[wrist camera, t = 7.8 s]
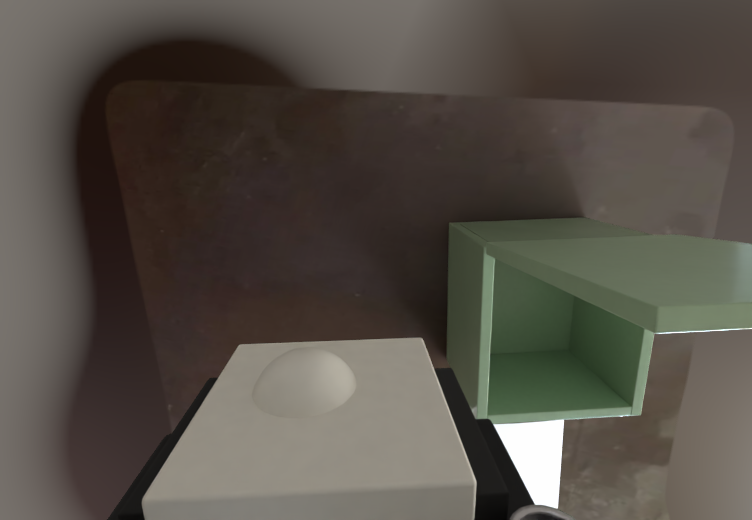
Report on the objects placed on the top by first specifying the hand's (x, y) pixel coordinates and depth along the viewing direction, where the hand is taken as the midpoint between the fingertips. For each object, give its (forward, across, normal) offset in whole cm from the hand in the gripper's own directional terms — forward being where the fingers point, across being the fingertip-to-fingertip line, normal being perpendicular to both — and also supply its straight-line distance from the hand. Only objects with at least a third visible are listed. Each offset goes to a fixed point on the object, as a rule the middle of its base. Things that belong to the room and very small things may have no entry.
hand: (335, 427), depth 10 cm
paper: (+26, -10, +26) cm, 38 cm away
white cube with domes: (0, 0, 0) cm, 0 cm away
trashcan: (+26, -15, +6) cm, 30 cm away
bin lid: (+8, -15, -1) cm, 17 cm away
